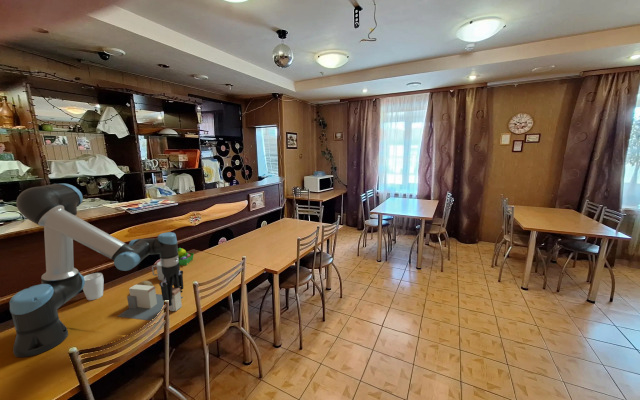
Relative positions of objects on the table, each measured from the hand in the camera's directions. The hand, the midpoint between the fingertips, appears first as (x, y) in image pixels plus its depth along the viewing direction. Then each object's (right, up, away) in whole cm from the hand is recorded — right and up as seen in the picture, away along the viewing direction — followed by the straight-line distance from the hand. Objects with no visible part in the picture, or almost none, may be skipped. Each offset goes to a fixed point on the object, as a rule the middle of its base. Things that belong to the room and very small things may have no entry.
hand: (175, 307), depth 126 cm
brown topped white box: (-1, -1, 0) cm, 1 cm away
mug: (-25, +5, +33) cm, 42 cm away
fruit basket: (-24, +9, +54) cm, 59 cm away
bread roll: (-27, +2, +16) cm, 31 cm away
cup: (-50, +1, +11) cm, 51 cm away
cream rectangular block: (-17, 0, +3) cm, 18 cm away
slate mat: (-13, -1, +2) cm, 13 cm away
